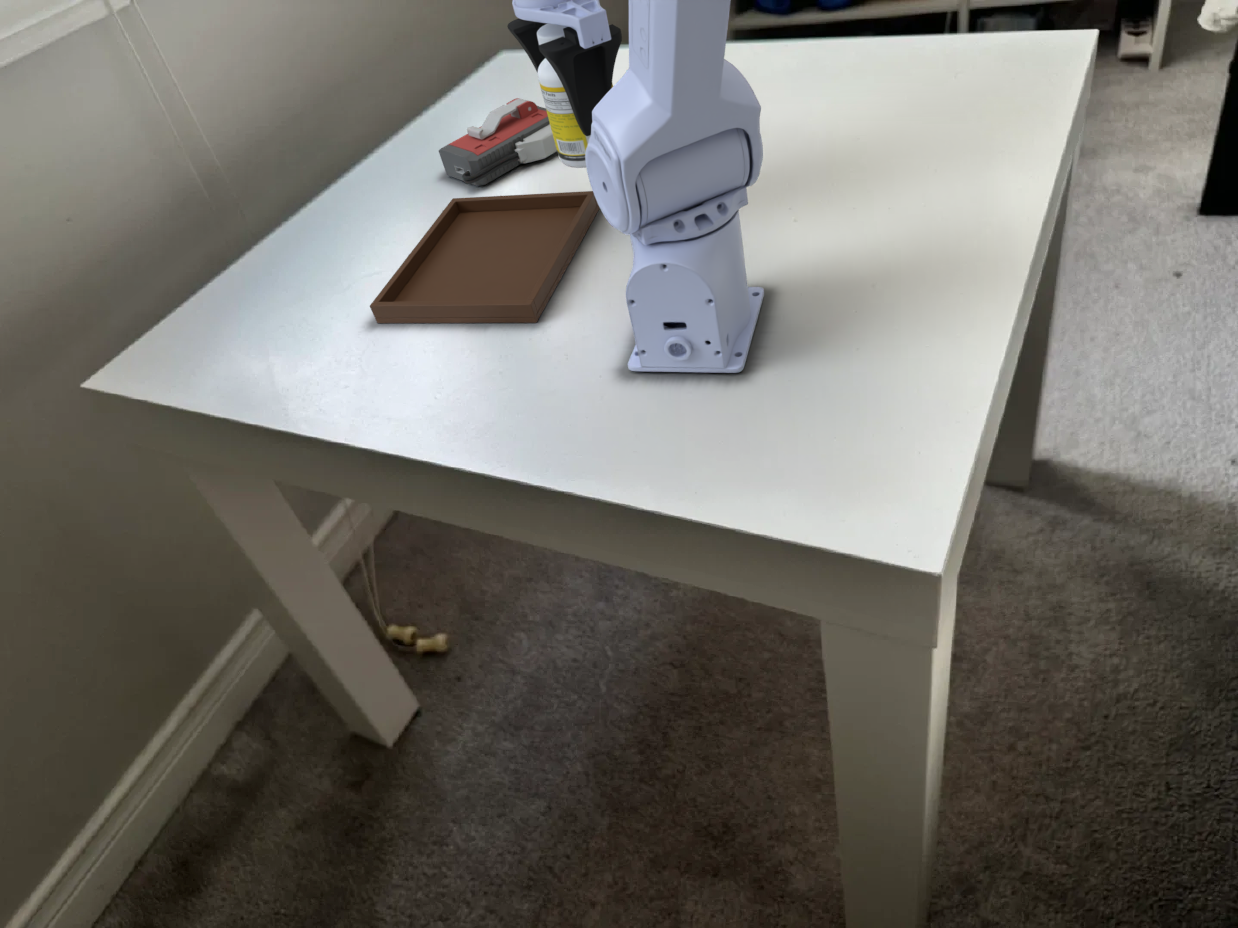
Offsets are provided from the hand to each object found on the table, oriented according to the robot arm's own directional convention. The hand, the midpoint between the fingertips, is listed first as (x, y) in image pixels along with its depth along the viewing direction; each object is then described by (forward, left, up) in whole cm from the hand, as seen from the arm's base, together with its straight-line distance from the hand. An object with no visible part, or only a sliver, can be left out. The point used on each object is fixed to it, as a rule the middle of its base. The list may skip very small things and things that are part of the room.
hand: (582, 119), depth 70 cm
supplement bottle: (0, 0, -3) cm, 3 cm away
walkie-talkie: (+18, +13, -10) cm, 24 cm away
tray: (-4, +9, -10) cm, 14 cm away
